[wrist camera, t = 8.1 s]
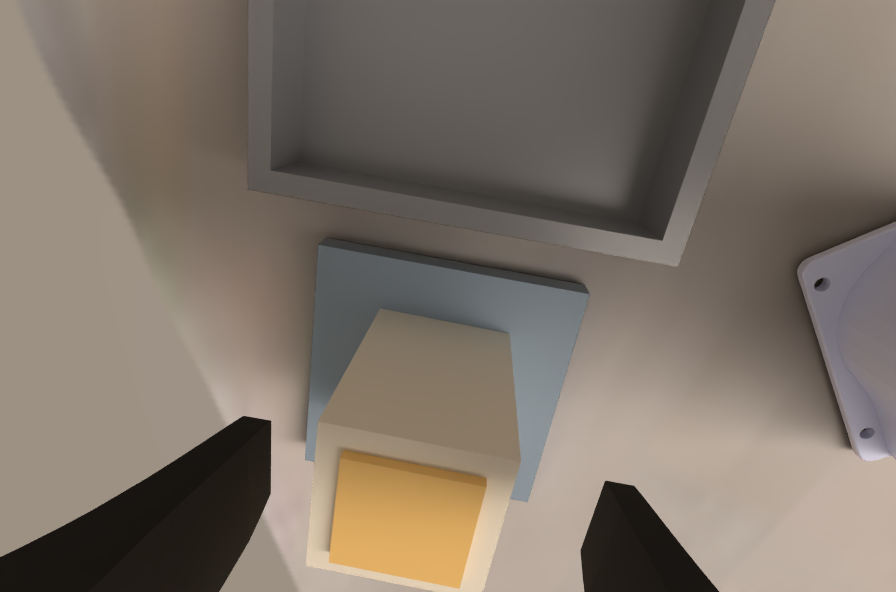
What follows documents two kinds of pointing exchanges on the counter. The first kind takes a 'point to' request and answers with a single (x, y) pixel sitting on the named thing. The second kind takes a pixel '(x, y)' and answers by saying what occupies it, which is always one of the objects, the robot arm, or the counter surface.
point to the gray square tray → (502, 112)
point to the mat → (453, 300)
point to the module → (417, 456)
